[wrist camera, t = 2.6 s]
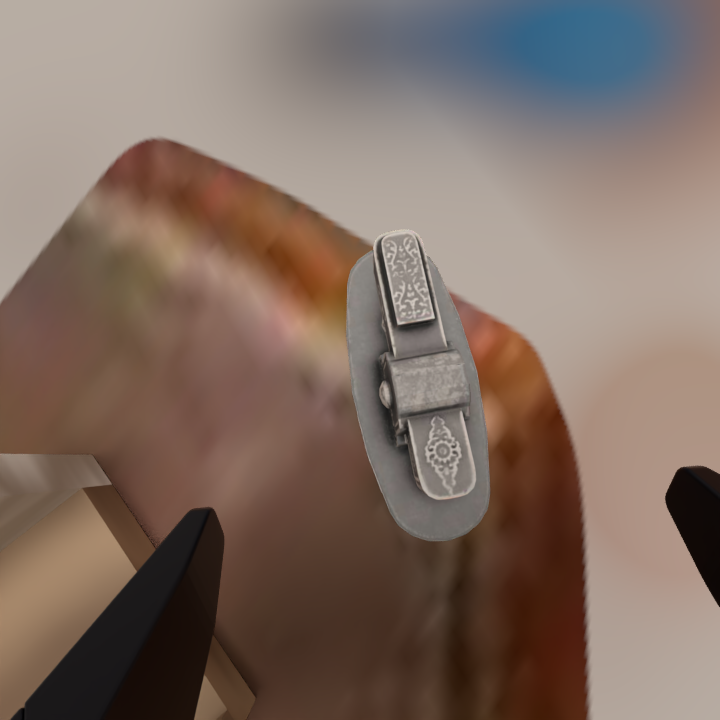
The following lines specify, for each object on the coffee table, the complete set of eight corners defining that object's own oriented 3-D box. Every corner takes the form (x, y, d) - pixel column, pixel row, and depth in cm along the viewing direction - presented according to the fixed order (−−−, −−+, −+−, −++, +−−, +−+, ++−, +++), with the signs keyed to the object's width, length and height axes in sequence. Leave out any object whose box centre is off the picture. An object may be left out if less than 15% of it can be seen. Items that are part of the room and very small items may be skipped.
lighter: (454, 499, 18) (559, 549, 8) (374, 514, 18) (384, 582, 8) (415, 317, 20) (463, 181, 10) (342, 330, 20) (318, 205, 10)
